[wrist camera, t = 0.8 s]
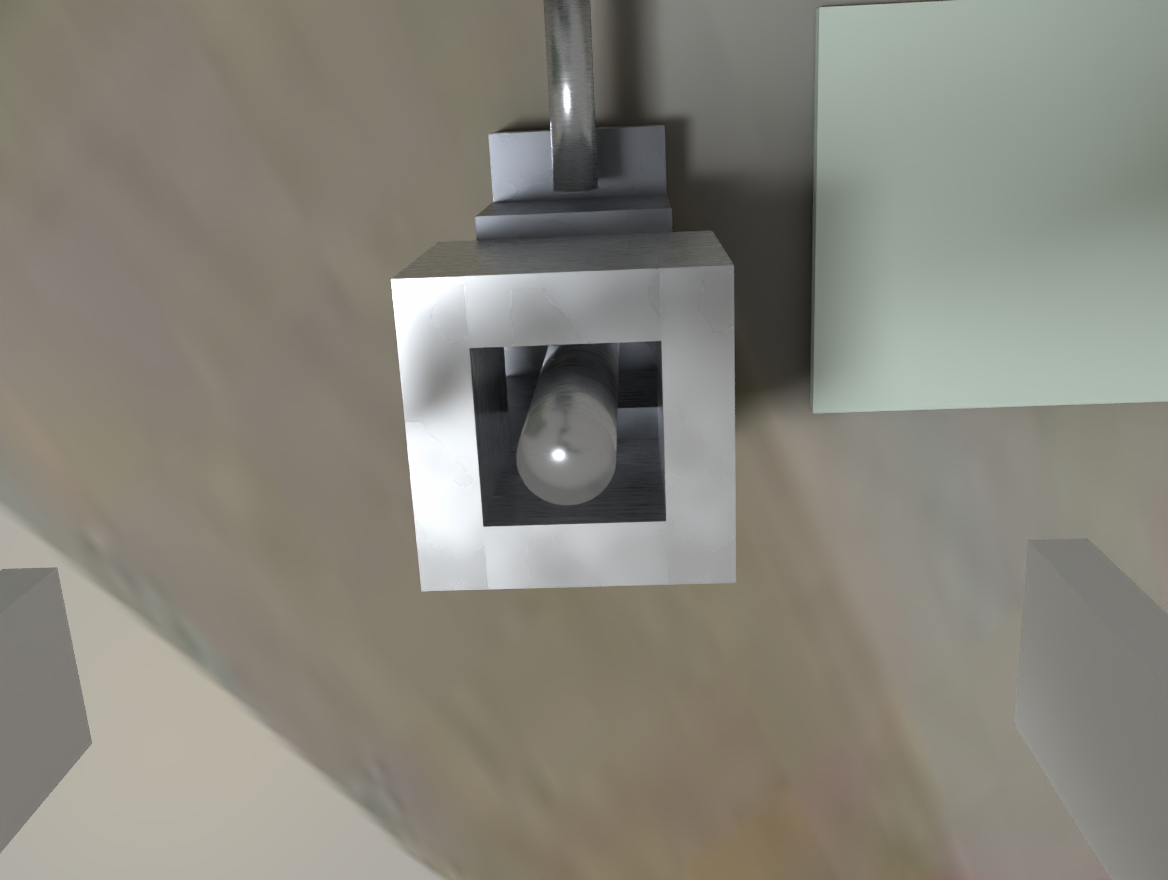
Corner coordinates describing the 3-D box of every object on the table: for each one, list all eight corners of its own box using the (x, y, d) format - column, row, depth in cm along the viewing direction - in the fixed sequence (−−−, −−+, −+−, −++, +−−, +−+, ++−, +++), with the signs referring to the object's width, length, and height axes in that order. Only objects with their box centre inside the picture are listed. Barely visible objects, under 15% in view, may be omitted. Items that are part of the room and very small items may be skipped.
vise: (488, 7, 32) (396, -51, 19) (659, -2, 32) (681, -67, 19) (521, 504, 37) (465, 724, 24) (671, 500, 37) (696, 720, 24)
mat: (816, 8, 32) (819, 7, 31) (1242, -14, 31) (1253, -16, 31) (809, 408, 36) (813, 413, 35) (1192, 395, 35) (1202, 400, 34)
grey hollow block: (438, 241, 28) (390, 279, 23) (712, 230, 28) (734, 265, 22) (459, 498, 30) (421, 591, 25) (715, 489, 30) (736, 582, 24)
